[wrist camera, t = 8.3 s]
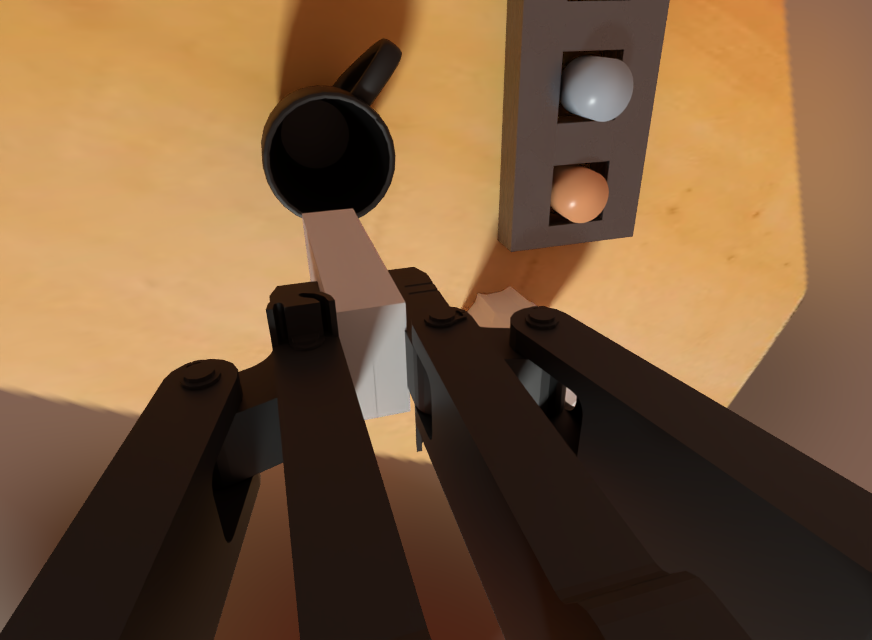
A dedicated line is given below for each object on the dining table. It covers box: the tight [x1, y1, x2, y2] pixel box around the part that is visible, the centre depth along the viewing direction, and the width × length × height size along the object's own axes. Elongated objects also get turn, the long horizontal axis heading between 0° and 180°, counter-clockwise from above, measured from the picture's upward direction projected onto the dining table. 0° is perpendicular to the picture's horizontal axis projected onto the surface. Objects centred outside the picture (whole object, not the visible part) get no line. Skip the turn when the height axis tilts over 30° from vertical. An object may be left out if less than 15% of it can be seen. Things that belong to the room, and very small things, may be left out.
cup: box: [467, 286, 577, 406], centre depth 52 cm, size 10×10×10 cm
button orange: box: [550, 164, 609, 223], centre depth 50 cm, size 4×4×4 cm
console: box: [498, 0, 670, 252], centre depth 46 cm, size 26×12×3 cm, turn 1°
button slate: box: [559, 55, 633, 122], centre depth 44 cm, size 4×4×4 cm
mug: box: [261, 39, 402, 218], centre depth 39 cm, size 8×12×10 cm
